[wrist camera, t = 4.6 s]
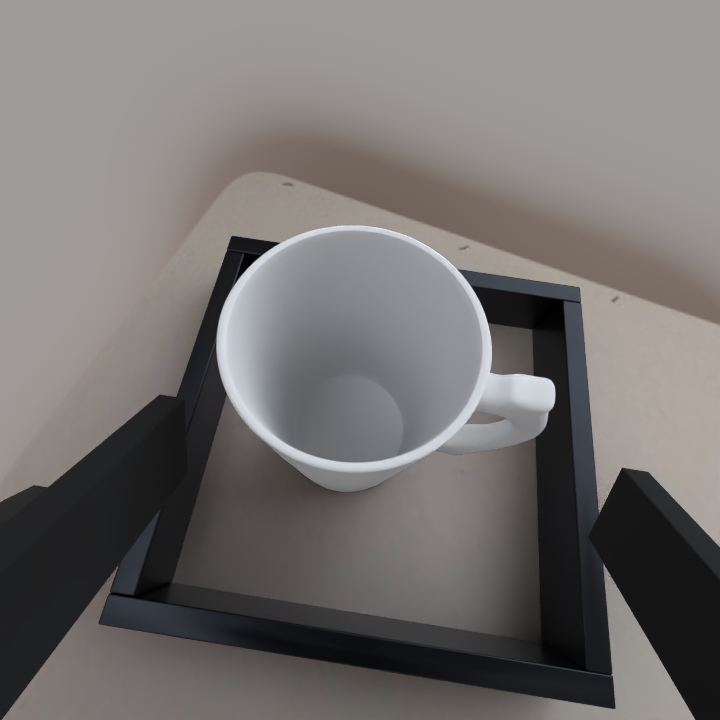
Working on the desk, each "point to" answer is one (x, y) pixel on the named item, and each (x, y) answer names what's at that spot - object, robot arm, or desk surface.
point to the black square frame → (385, 635)
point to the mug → (367, 358)
